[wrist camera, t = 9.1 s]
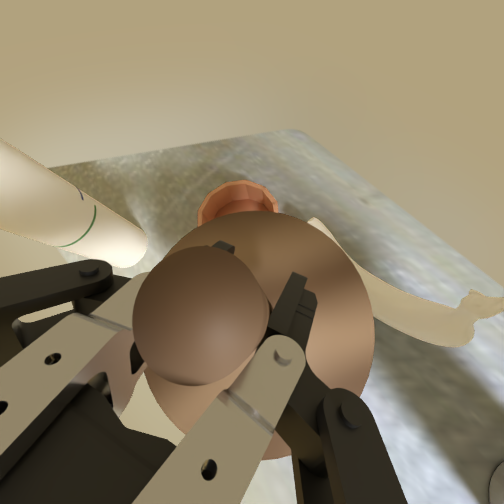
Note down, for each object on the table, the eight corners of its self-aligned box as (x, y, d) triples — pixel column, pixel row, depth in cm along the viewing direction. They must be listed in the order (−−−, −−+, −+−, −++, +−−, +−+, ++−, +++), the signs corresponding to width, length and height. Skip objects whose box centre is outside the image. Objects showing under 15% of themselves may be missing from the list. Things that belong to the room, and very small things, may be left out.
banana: (308, 228, 34) (326, 166, 20) (427, 319, 29) (563, 319, 15) (286, 252, 34) (290, 204, 20) (404, 349, 28) (523, 378, 14)
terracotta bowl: (293, 237, 34) (295, 224, 29) (232, 279, 33) (223, 272, 29) (253, 186, 37) (249, 167, 33) (196, 223, 37) (183, 209, 32)
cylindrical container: (137, 218, 38) (-97, 53, 15) (154, 251, 36) (-87, 120, 13) (100, 241, 38) (-202, 110, 14) (115, 276, 36) (-211, 190, 12)
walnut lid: (422, 351, 13) (818, 436, 3) (216, 509, 12) (-34, 1230, 2) (276, 182, 17) (270, 11, 8) (116, 290, 16) (-117, 246, 7)
